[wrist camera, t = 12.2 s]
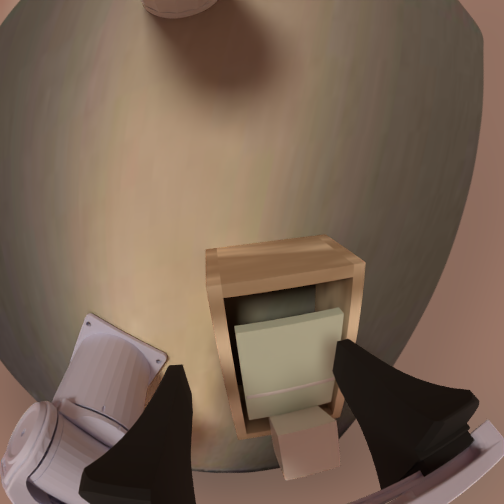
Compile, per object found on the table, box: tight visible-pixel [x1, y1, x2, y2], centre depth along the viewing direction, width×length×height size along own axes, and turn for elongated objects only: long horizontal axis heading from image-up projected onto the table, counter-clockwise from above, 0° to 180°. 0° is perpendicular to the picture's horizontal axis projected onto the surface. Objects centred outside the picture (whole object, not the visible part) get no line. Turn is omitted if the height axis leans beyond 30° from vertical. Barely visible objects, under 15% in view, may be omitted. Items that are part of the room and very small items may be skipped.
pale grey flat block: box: [234, 307, 344, 420], centre depth 19 cm, size 9×7×4 cm
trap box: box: [206, 235, 365, 440], centre depth 20 cm, size 15×9×6 cm, turn 5°
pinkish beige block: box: [268, 406, 341, 481], centre depth 17 cm, size 4×4×6 cm
